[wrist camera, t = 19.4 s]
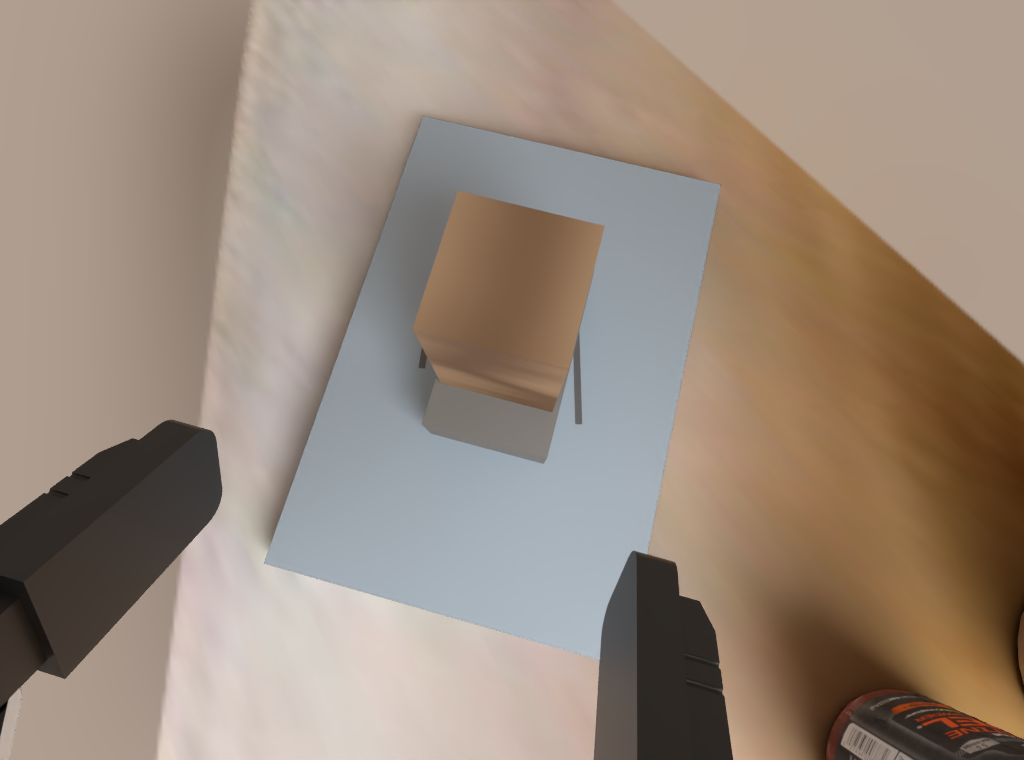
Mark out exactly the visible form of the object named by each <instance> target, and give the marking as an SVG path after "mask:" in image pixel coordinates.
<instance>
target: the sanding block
mask: <svg viewBox="0 0 1024 760" xmlns="http://www.w3.org/2000/svg"><path fill="white" fill-rule="evenodd" d="M604 227H605V226H603V225H599V224H595V223H591V222H587V221H582V220H578V219H574V218H570V217H566V216H562V215H557V214H553V213H549V212H545V211H541V210H537V209H532V208H528V207H524V206H520V205H516V204H512V203H507V202H503V201H499V200H495V199H491V198H487V197H483V196H478V195H474V194H470V193H466V192H462V191H457V194H456V197H455V200H454V203H453V206H452V209H451V212H450V215H449V218H448V221H447V224H446V228H445V231H444V234H443V237H442V240H441V243H440V246H439V249H438V252H437V255H436V258H435V261H434V264H433V267H432V270H431V273H430V276H429V279H428V282H427V285H426V288H425V291H424V294H423V298H422V301H421V304H420V307H419V310H418V313H417V316H416V319H415V322H414V325H413V328H412V329H413V331H414V333H415V335H416V337H417V339H418V340H419V342H420V344H421V346H422V348H423V350H424V352H425V354H426V356H427V358H428V359H429V361H430V363H431V365H432V367H433V369H434V371H435V373H436V375H437V376H436V380H435V383H434V386H433V389H432V392H431V396H430V399H429V402H428V405H427V409H426V412H425V415H424V418H423V421H422V425H423V426H424V427H425V428H426V429H427V430H428V431H429V432H430V433H431V434H434V435H438V436H442V437H445V438H449V439H453V440H456V441H460V442H464V443H468V444H471V445H475V446H479V447H482V448H486V449H490V450H494V451H497V452H501V453H505V454H508V455H512V456H516V457H520V458H523V459H527V460H531V461H534V462H538V463H542V464H544V462H545V461H546V459H547V457H548V453H549V449H550V445H551V441H552V437H553V433H554V429H555V425H556V421H557V417H558V413H559V409H560V405H561V401H562V397H563V393H564V389H565V386H566V382H567V378H568V374H569V370H570V366H571V362H572V358H573V354H574V350H575V346H576V342H577V338H578V334H579V330H580V326H581V322H582V318H583V314H584V310H585V306H586V302H587V298H588V294H589V290H590V286H591V282H592V278H593V274H594V271H595V270H594V267H595V263H596V259H597V255H598V251H599V247H600V243H601V239H602V235H603V231H604Z"/></svg>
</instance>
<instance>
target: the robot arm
mask: <svg viewBox="0 0 1024 760" xmlns="http://www.w3.org/2000/svg"><path fill="white" fill-rule="evenodd" d="M221 497H222V483H221V475H220V467H219V459H218V450H217V442H216V437H215V435H214V433H213V432H212V431H211V430H207V429H204V428H200V427H196V426H193V425H189V424H186V423H182V422H178V421H175V420H167V421H165V422H163V423H161V424H160V425H158V426H157V427H156V428H154V429H153V430H152V431H150V432H149V433H148V434H147V435H145V436H144V437H143V438H141V439H140V440H136V439H133V438H132V439H130V440H128V441H125V442H123V443H120V444H118V445H116V446H113V447H111V448H108V449H107V450H104V451H102V452H99V453H98V454H96V455H95V456H94V457H92V458H91V459H90V460H88V461H87V462H85V463H84V464H83V465H81V466H80V467H79V468H77V469H76V470H75V471H73V472H72V475H71V476H70V477H68V476H67V477H65V478H64V479H62V480H61V481H60V482H58V483H57V484H56V485H54V486H53V487H52V488H50V491H49V493H47V494H46V493H43V494H42V495H41V496H39V497H38V498H37V499H36V500H34V501H33V502H31V503H30V504H29V505H27V506H26V507H24V508H23V509H22V510H20V511H19V512H18V513H16V514H15V515H14V516H12V517H11V518H10V519H8V520H7V521H5V522H4V523H3V524H1V525H0V760H9V758H10V753H11V749H12V743H13V739H14V734H15V729H16V724H17V719H18V715H19V710H20V705H21V700H22V691H21V686H22V685H23V684H24V683H25V682H26V681H27V680H28V679H29V678H30V677H31V676H32V675H33V674H34V672H36V671H37V670H39V671H42V672H45V673H48V674H51V675H55V676H58V677H61V678H64V679H65V678H66V677H67V676H68V675H69V674H70V673H71V672H72V671H73V670H74V669H75V668H76V667H77V665H78V664H79V663H80V662H81V661H82V660H83V659H84V658H85V657H86V655H87V654H88V653H89V652H90V651H91V650H92V649H93V648H94V647H95V646H96V645H97V644H98V643H99V641H100V640H101V639H102V638H103V637H104V636H105V635H106V634H107V633H108V632H109V631H110V629H111V628H112V627H113V626H114V625H115V624H116V623H117V622H118V621H119V620H120V619H121V618H122V616H123V615H124V614H125V613H126V612H127V611H128V610H129V609H130V608H131V607H132V606H133V604H134V603H135V602H136V601H137V600H138V599H139V598H140V597H141V596H142V594H144V592H145V591H146V590H147V589H148V588H149V587H150V586H151V585H152V584H153V583H154V582H155V580H156V579H157V578H158V577H159V576H160V575H161V574H162V573H163V572H164V571H165V569H166V568H167V567H168V566H169V565H170V564H171V563H172V562H173V561H174V560H175V558H176V557H177V556H178V555H179V554H180V553H181V552H182V551H183V550H184V549H185V548H186V547H187V546H188V544H189V543H190V542H191V541H192V540H193V539H194V538H195V537H196V536H197V535H198V534H199V532H200V531H201V530H202V529H203V528H204V527H205V526H206V525H207V524H208V523H209V521H210V520H211V519H212V517H213V516H214V514H215V513H216V511H217V509H218V506H219V504H220V501H221ZM1018 656H1019V667H1020V671H1021V675H1022V679H1023V683H1024V611H1023V613H1022V616H1021V621H1020V628H1019V634H1018ZM719 663H720V662H719V655H718V648H717V641H716V633H715V630H714V628H713V626H712V624H711V622H710V620H709V618H708V617H707V615H706V613H705V611H704V609H703V607H702V605H701V603H700V601H697V600H693V599H690V598H686V597H683V596H679V585H678V572H677V566H676V564H675V562H673V561H669V560H665V559H662V558H658V557H655V556H651V555H648V554H644V553H640V552H637V551H632V552H631V553H630V555H629V557H628V559H627V562H626V564H625V566H624V568H623V571H622V573H621V575H620V578H619V580H618V582H617V584H616V587H615V589H614V591H613V593H612V596H611V598H610V600H609V603H608V606H607V609H606V612H605V616H604V621H603V627H602V634H601V648H600V665H599V681H598V698H597V715H596V732H595V749H594V760H733V756H732V749H731V742H730V735H729V727H728V720H727V713H726V706H725V698H724V696H723V695H722V691H723V684H722V677H721V670H720V669H719Z"/></svg>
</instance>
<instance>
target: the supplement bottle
mask: <svg viewBox="0 0 1024 760" xmlns="http://www.w3.org/2000/svg"><path fill="white" fill-rule="evenodd" d="M826 760H1024V739H1022V738H1019V737H1017V736H1014V735H1013V734H1011V733H1009V732H1006V731H1004V730H1002V729H999V728H997V727H994V726H991V725H989V724H987V723H985V722H983V721H981V720H979V719H977V718H975V717H972V716H969V715H967V714H965V713H962V712H960V711H958V710H956V709H954V708H952V707H949V706H946V705H944V704H941V703H939V702H937V701H934V700H932V699H929V698H928V697H925V696H921V695H919V694H914V693H911V692H908V691H904V690H898V689H883V690H876V691H872V692H869V693H866V694H863V695H861V696H859V697H858V698H856V699H855V700H851V701H850V702H849V703H848V704H847V706H846V707H845V708H844V709H843V710H842V711H841V713H840V714H839V715H838V717H837V719H836V721H835V723H834V725H833V727H832V729H831V731H830V735H829V738H828V742H827V750H826Z"/></svg>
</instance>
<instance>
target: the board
mask: <svg viewBox="0 0 1024 760" xmlns="http://www.w3.org/2000/svg"><path fill="white" fill-rule="evenodd" d="M720 186H721V185H720V184H715V183H711V182H707V181H702V180H698V179H694V178H689V177H685V176H681V175H676V174H672V173H668V172H664V171H659V170H655V169H651V168H646V167H642V166H638V165H633V164H629V163H625V162H620V161H616V160H612V159H607V158H603V157H599V156H594V155H590V154H586V153H581V152H577V151H573V150H568V149H564V148H560V147H555V146H551V145H547V144H542V143H538V142H534V141H530V140H525V139H521V138H517V137H512V136H508V135H504V134H499V133H495V132H491V131H486V130H482V129H478V128H473V127H469V126H465V125H460V124H456V123H452V122H447V121H443V120H439V119H434V118H430V117H426V116H423V118H422V121H421V124H420V126H419V129H418V132H417V135H416V138H415V140H414V143H413V146H412V149H411V152H410V154H409V157H408V160H407V163H406V166H405V169H404V171H403V174H402V177H401V180H400V183H399V185H398V188H397V191H396V194H395V197H394V199H393V202H392V205H391V208H390V211H389V213H388V216H387V219H386V222H385V225H384V227H383V230H382V233H381V236H380V239H379V241H378V244H377V247H376V250H375V253H374V255H373V258H372V261H371V264H370V267H369V270H368V272H367V275H366V278H365V281H364V284H363V286H362V289H361V292H360V295H359V298H358V300H357V303H356V306H355V309H354V312H353V314H352V317H351V320H350V323H349V326H348V328H347V331H346V334H345V337H344V340H343V342H342V345H341V348H340V351H339V354H338V356H337V359H336V362H335V365H334V368H333V371H332V373H331V376H330V379H329V382H328V385H327V387H326V390H325V393H324V396H323V399H322V401H321V404H320V407H319V410H318V413H317V415H316V418H315V421H314V424H313V427H312V429H311V432H310V435H309V438H308V441H307V443H306V446H305V449H304V452H303V455H302V457H301V460H300V463H299V466H298V469H297V472H296V474H295V477H294V480H293V483H292V486H291V488H290V491H289V494H288V497H287V500H286V502H285V505H284V508H283V511H282V514H281V516H280V519H279V522H278V525H277V528H276V530H275V533H274V536H273V539H272V542H271V544H270V547H269V550H268V553H267V556H266V558H265V561H264V564H268V565H271V566H274V567H278V568H281V569H285V570H288V571H292V572H295V573H299V574H302V575H306V576H309V577H313V578H316V579H320V580H323V581H326V582H330V583H333V584H337V585H340V586H344V587H347V588H351V589H354V590H358V591H361V592H365V593H368V594H372V595H375V596H378V597H382V598H385V599H389V600H392V601H396V602H399V603H403V604H406V605H410V606H413V607H417V608H420V609H424V610H427V611H430V612H434V613H437V614H441V615H444V616H448V617H451V618H455V619H458V620H462V621H465V622H469V623H472V624H475V625H479V626H482V627H486V628H489V629H493V630H496V631H500V632H503V633H507V634H510V635H514V636H517V637H521V638H524V639H527V640H531V641H534V642H538V643H541V644H545V645H548V646H552V647H555V648H559V649H562V650H566V651H569V652H573V653H576V654H579V655H583V656H586V657H590V658H593V659H597V660H600V648H601V634H602V627H603V621H604V616H605V612H606V609H607V606H608V603H609V600H610V598H611V596H612V593H613V591H614V589H615V587H616V584H617V582H618V580H619V578H620V575H621V573H622V571H623V568H624V566H625V564H626V562H627V559H628V557H629V555H630V553H631V552H632V551H637V552H640V553H644V554H647V552H648V547H649V542H650V537H651V532H652V527H653V522H654V517H655V512H656V507H657V502H658V497H659V492H660V487H661V482H662V477H663V472H664V467H665V462H666V457H667V452H668V447H669V442H670V437H671V432H672V427H673V422H674V417H675V412H676V407H677V402H678V397H679V392H680V387H681V382H682V377H683V372H684V367H685V362H686V357H687V352H688V347H689V342H690V337H691V332H692V327H693V322H694V317H695V312H696V307H697V302H698V297H699V292H700V287H701V282H702V277H703V272H704V267H705V262H706V256H707V251H708V246H709V241H710V236H711V231H712V226H713V221H714V216H715V211H716V206H717V201H718V196H719V191H720ZM457 191H462V192H466V193H470V194H474V195H478V196H483V197H487V198H491V199H495V200H499V201H503V202H507V203H512V204H516V205H520V206H524V207H528V208H532V209H537V210H541V211H545V212H549V213H553V214H557V215H562V216H566V217H570V218H574V219H578V220H582V221H587V222H591V223H595V224H599V225H603V226H605V227H604V231H603V235H602V239H601V243H600V247H599V251H598V255H597V259H596V263H595V267H594V270H595V271H594V274H593V278H592V282H591V286H590V290H589V294H588V298H587V302H586V306H585V310H584V314H583V318H582V322H581V326H580V330H579V334H578V338H577V342H576V346H575V350H574V354H573V358H572V362H571V366H570V370H569V374H568V378H567V382H566V386H565V389H564V393H563V397H562V401H561V405H560V409H559V413H558V417H557V421H556V425H555V429H554V433H553V437H552V441H551V445H550V449H549V453H548V457H547V459H546V461H545V462H544V464H542V463H538V462H534V461H531V460H527V459H523V458H520V457H516V456H512V455H508V454H505V453H501V452H497V451H494V450H490V449H486V448H482V447H479V446H475V445H471V444H468V443H464V442H460V441H456V440H453V439H449V438H445V437H442V436H438V435H434V434H431V433H430V432H429V431H428V430H427V429H426V428H425V427H424V426H423V425H422V421H423V418H424V415H425V412H426V409H427V405H428V402H429V399H430V396H431V392H432V389H433V386H434V383H435V380H436V376H437V375H436V373H435V371H434V369H433V367H432V365H431V363H430V361H429V359H428V358H427V356H426V354H425V352H424V350H423V348H422V346H421V344H420V342H419V340H418V339H417V337H416V335H415V333H414V331H413V329H412V328H413V325H414V322H415V319H416V316H417V313H418V310H419V307H420V304H421V301H422V298H423V294H424V291H425V288H426V285H427V282H428V279H429V276H430V273H431V270H432V267H433V264H434V261H435V258H436V255H437V252H438V249H439V246H440V243H441V240H442V237H443V234H444V231H445V228H446V224H447V221H448V218H449V215H450V212H451V209H452V206H453V203H454V200H455V197H456V194H457Z"/></svg>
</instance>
